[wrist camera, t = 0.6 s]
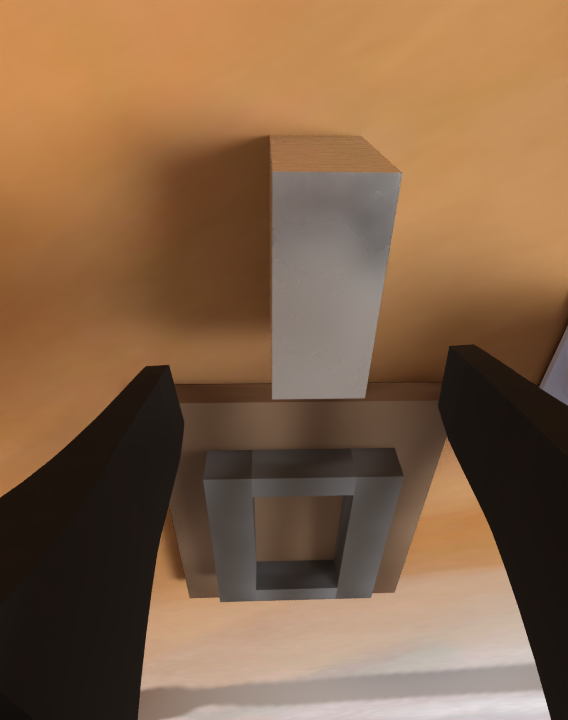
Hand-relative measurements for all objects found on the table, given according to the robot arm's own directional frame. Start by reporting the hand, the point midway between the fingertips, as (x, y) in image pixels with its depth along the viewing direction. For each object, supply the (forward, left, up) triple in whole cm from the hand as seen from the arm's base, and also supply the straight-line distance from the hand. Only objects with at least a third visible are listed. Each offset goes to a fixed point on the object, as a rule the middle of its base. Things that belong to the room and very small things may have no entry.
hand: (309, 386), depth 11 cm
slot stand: (-1, +17, -9) cm, 20 cm away
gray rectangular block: (-1, -1, -10) cm, 10 cm away
